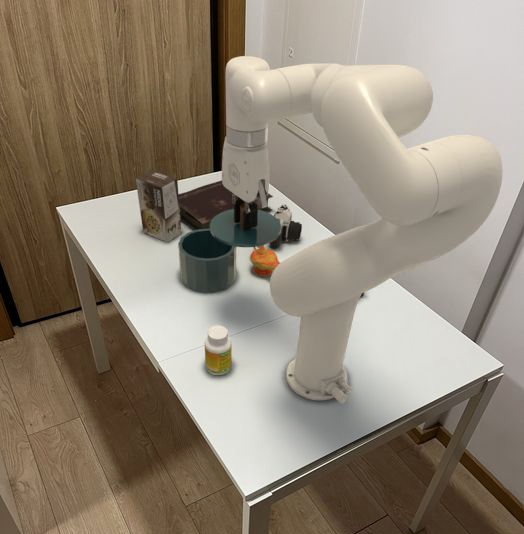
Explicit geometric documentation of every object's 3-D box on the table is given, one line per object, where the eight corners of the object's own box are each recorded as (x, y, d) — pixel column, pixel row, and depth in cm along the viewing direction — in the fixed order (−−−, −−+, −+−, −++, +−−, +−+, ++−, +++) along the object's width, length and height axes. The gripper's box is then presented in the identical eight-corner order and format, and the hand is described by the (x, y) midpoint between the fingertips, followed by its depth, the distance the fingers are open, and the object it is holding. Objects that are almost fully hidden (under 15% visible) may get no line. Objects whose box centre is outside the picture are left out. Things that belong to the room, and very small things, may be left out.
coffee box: (182, 232, 148) (178, 178, 136) (167, 243, 144) (162, 187, 132) (157, 222, 151) (151, 168, 140) (141, 232, 147) (134, 177, 136)
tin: (246, 281, 133) (246, 248, 126) (199, 299, 127) (197, 266, 120) (216, 255, 141) (216, 223, 134) (171, 271, 135) (168, 239, 128)
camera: (295, 254, 142) (299, 224, 137) (266, 250, 143) (269, 219, 137) (302, 233, 152) (306, 203, 147) (275, 228, 153) (278, 199, 147)
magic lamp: (275, 296, 129) (278, 258, 121) (236, 259, 139) (237, 222, 132) (298, 288, 132) (302, 250, 124) (258, 252, 142) (260, 215, 135)
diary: (167, 211, 156) (166, 195, 152) (235, 187, 168) (235, 172, 164) (204, 239, 146) (203, 223, 142) (273, 212, 158) (274, 196, 154)
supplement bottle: (221, 379, 109) (221, 345, 102) (200, 369, 111) (198, 334, 104) (236, 364, 112) (236, 329, 105) (215, 354, 114) (214, 319, 107)
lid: (295, 236, 109) (297, 211, 106) (235, 258, 103) (235, 232, 99) (253, 206, 118) (254, 182, 114) (196, 225, 111) (195, 200, 107)
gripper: (205, 124, 100) (209, 212, 112) (255, 154, 90) (253, 247, 103) (238, 116, 103) (238, 203, 116) (290, 145, 94) (284, 236, 106)
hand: (245, 223), depth 109 cm, fingers closed on lid, 2 cm apart
